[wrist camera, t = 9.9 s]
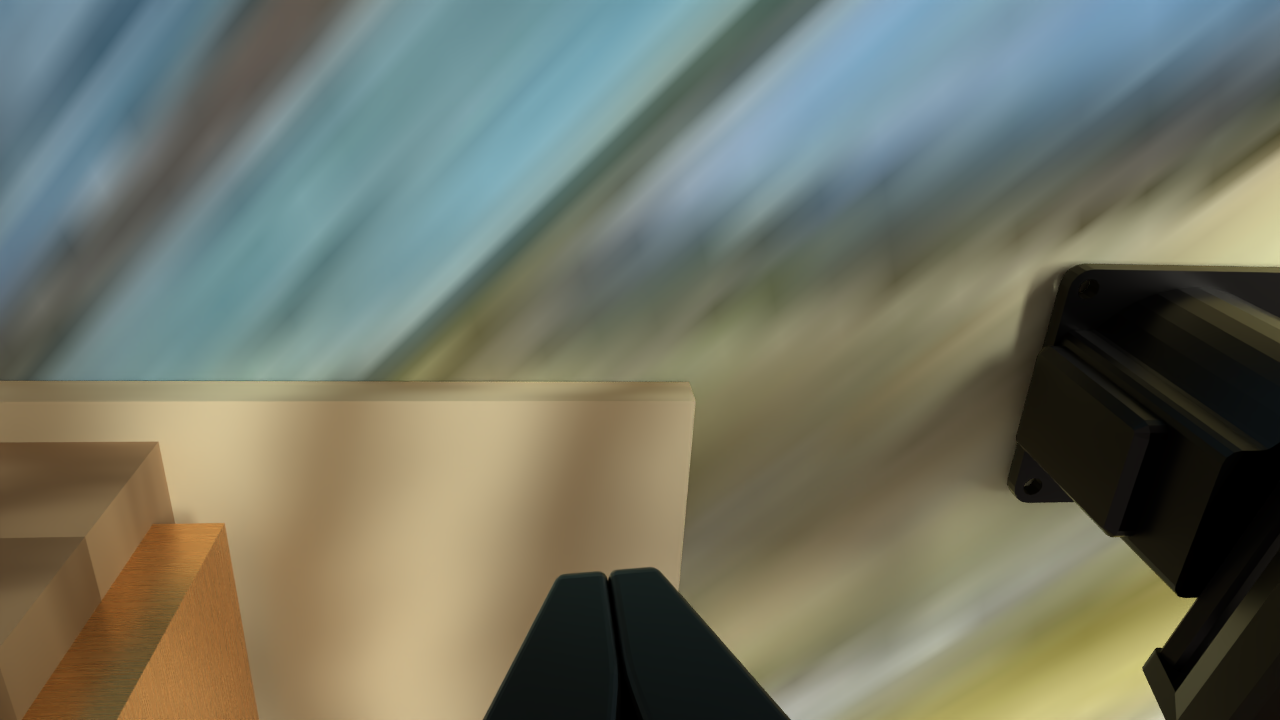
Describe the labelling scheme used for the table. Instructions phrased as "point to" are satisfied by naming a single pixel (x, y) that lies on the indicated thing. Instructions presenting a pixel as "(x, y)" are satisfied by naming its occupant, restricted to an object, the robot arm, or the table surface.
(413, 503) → the hitch block
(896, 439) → the table surface
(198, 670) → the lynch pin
